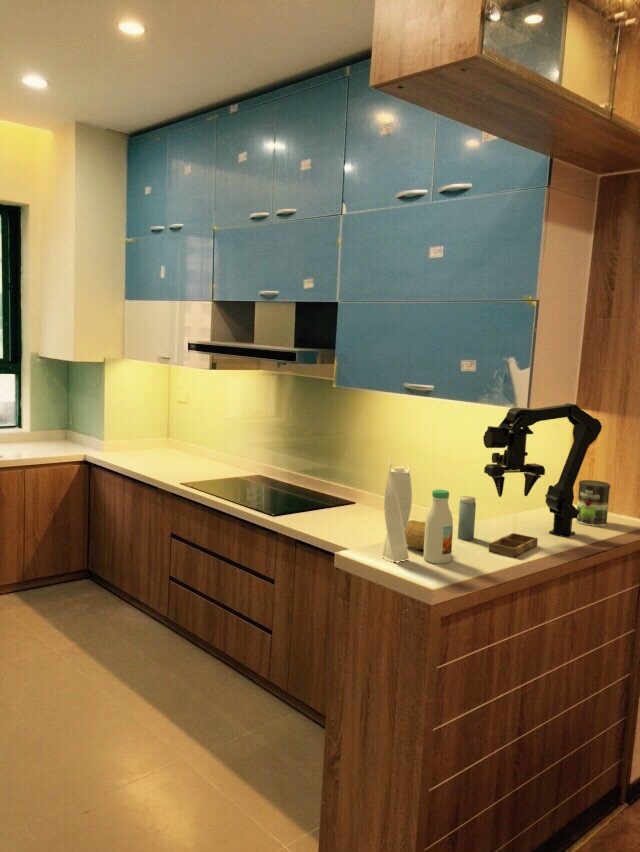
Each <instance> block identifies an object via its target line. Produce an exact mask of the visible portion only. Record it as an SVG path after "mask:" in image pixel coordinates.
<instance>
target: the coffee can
mask: <svg viewBox="0 0 640 852" xmlns="http://www.w3.org/2000/svg"><path fill="white" fill-rule="evenodd" d="M611 487H612V486H611V484H610V483H608V482H604V481H599V480H589V479H587V480H586V479H585V480H583V479H582V480H579V481H578V493H577V494H578V496H577V506H576V509H577V510H578V511H579V514H578V517H577V518H575V522H576V521H577V522H576V523H578V524H580V523H581V524H580V525H583V524H585V525H584V526H588V525H592V526H591V527H605V526H607V525H608V515H609V513H608V512H609V503H610V494H611V493H610V490H611Z"/></svg>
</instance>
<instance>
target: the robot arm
mask: <svg viewBox="0 0 640 852" xmlns="http://www.w3.org/2000/svg"><path fill="white" fill-rule="evenodd" d="M563 418H567V420H568V422H569V423H571V424H572V426H573V427H572V428H573V429H572V438H573V439H572V440H573V441H572V444H571V447H570V449H569V451H568V455H567V457H566V460H565V464H564V465H563V469H562V470H561V474H560V477H559V479H558V482H557V483H555V484H554V485H551V484H550V485H549V486H548V489H547V492H546V494H545V495H544V497H545V504H546V506H547V507H548V509H549V513H553V523H552V525H553V527H552V530H549V531H548V534H550V533H551V534H552V535H556V536H560V535H562V537H565V536H566V537H565V538H569V537H571V536H573V535H574V534H576V531H572V529H573V519H576V518H577V517H578V514H579V511H578V510H577V507H576V506H574V504H573V503H574V499H575V494H574V486H575V483H576V480H577V478H578V475H579V473H580V470H581V467H582V465H583V462H584V460H585V457H586V455H587V452H588V449H589V447H590V446H591V445H592V444H593V443H594V442H595V441H596V440H597V439H598V437H599V435H600V433H601V431H602V429H603V425H602V423H601V421H600V419H598V418H595V417H593V416H592V415H590V414H589V413H587V412H586V411H584V410H583V409H581V407H579V406H578V405H577V404H574V403H569V402H567V403H565V404H559V405H552V406H551V405H550V406H544V407H539V408H538V407H537V408H529V407H528V408H527V407H511V408H509V409H508V411H507V412H506V416H505V417H504V419H503V420H502V421H501V422H500V423H499V425H498V426H494V425H493V426H491V425H489V426H487V430H486V431H485V432H484V435H483V437H482V438H483V444H484V446H485V448H486V449H504V450H503V454H501V453H500V452H493V453H491V463H488V464H486V465H485V466H484V469H483V473H484V474H487V476H488V477H491V479H492V480H493V483H494V486H495V488H496V492H497V495H498V497H499V498H502V497H503V492H504V486H505V479H506V477H505V476H504V475H505V474H508V473H509V474H510V473H513V474H514V473H523V476H524V488H523V495H524V497H528V495H529V493H530V491H531V490H532V488H533V487H534V485H535V484H536V482H537V481H538V480H539V479H541V478H542V476H545V475H546V474H545V473H546V469H545V467H544V465H541V464H538V463H526V456H528V454H529V452H527V451H526V448H527V437H528V436H527V435H533V434H534V431H533V430H531V428H530V426H534V424H537V423H539V422H542V421H550V420H556V419H557V420H558V419H563ZM505 448H506V449H505ZM525 463H526V464H525ZM551 534H550V535H551Z"/></svg>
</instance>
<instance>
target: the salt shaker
mask: <svg viewBox="0 0 640 852" xmlns="http://www.w3.org/2000/svg"><path fill="white" fill-rule="evenodd" d="M458 506H459V507H458V509H459V510H458V524H457V527H458V528H457V539H458V540H461V541H474V540H475V527H476V526H475V525H476V511H477V510H476V508H477V503H476V497H473V496H467V495H466V496H460V501H459V505H458Z"/></svg>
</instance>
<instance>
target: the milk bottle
mask: <svg viewBox="0 0 640 852" xmlns="http://www.w3.org/2000/svg"><path fill="white" fill-rule="evenodd" d="M431 494H432V495H431V496H432V497H431V499H432V503H431V505H430V508H429V509H428V512H427V514H426V516H425V517H426V518H425V521H424V522H425V537H424V550H423V559H425V560H424V561H426V562H427V561H428V563H431V564H436V565H437V564H439V565H443V564H449V563H450V562H451V560H452V547H453V532H454V531H453V529H454V525H453V524H454V523H453V522H454V521H453V514H452V512H451V509H450V506H449V501H448V500H449V499H450V498H449V497H450V492H449V491H448V490H446V489H433V490H432V493H431Z"/></svg>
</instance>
